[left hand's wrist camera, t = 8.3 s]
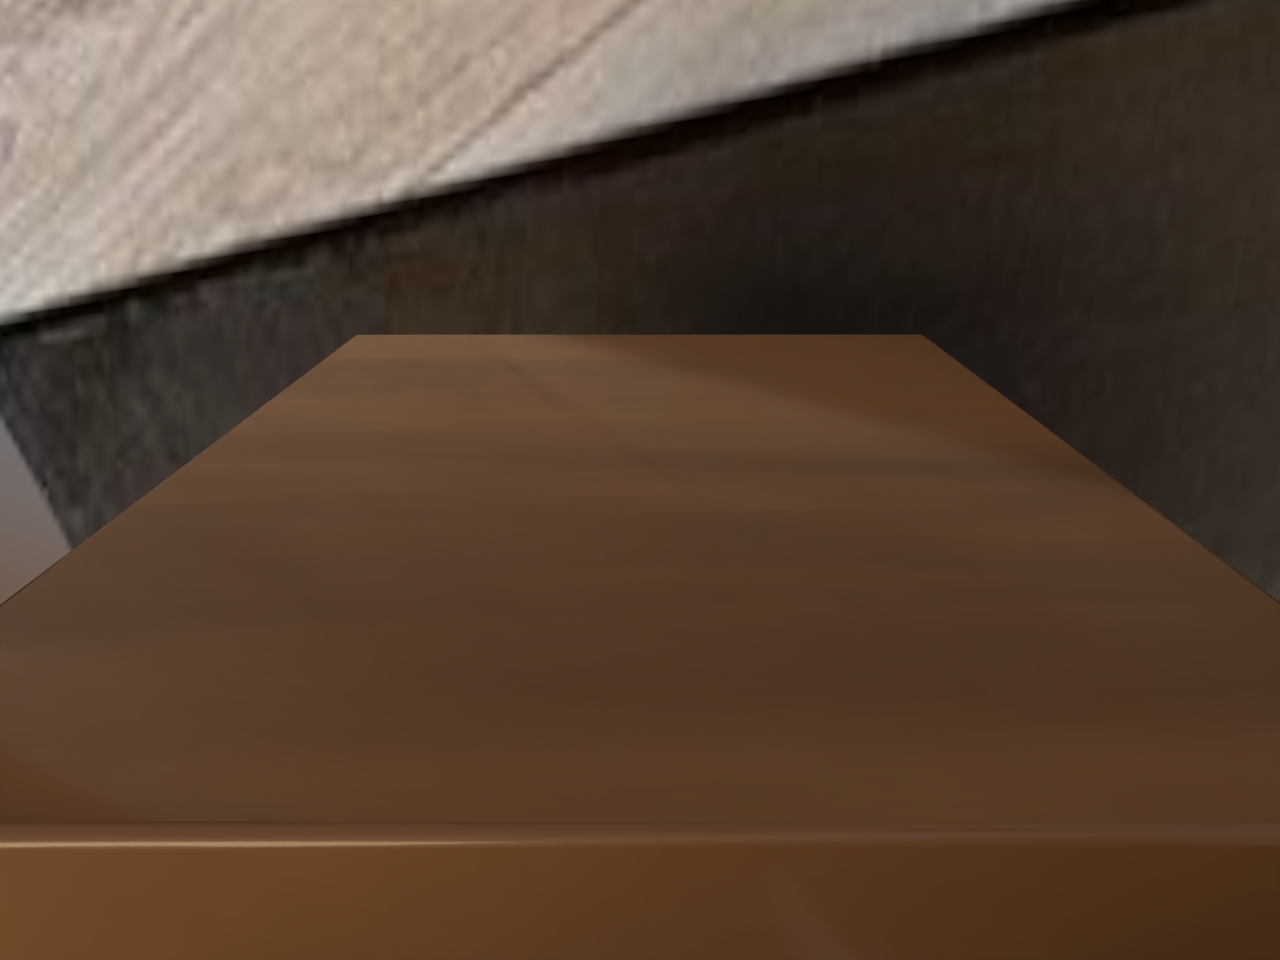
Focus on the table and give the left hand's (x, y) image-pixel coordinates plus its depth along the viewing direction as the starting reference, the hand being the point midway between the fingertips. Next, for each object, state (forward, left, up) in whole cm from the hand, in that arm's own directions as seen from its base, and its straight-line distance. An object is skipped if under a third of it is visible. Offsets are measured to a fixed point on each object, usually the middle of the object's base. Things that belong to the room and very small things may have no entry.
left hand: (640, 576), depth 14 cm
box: (+7, +2, -2) cm, 7 cm away
